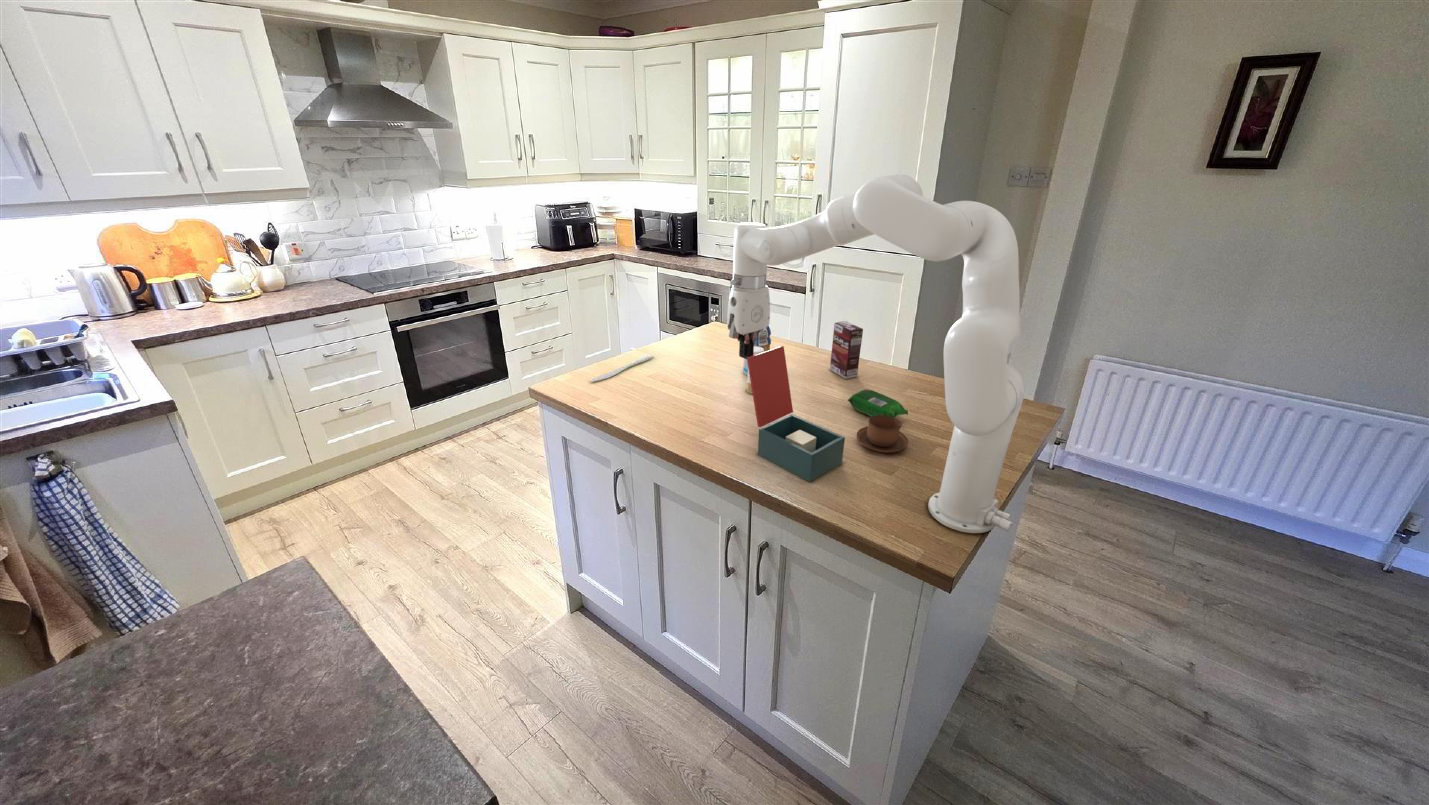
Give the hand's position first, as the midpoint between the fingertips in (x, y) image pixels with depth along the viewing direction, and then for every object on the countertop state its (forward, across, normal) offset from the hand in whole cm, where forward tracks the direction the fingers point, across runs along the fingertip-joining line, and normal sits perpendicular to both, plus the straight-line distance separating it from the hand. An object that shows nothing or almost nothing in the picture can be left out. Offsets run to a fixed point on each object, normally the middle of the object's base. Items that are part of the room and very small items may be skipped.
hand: (746, 357), depth 131 cm
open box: (+20, 0, -18) cm, 27 cm away
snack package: (+20, +33, -18) cm, 42 cm away
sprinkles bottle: (+20, +19, +14) cm, 31 cm away
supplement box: (+20, +50, +6) cm, 54 cm away
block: (+19, 0, -18) cm, 26 cm away
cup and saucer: (+20, +20, -28) cm, 39 cm away
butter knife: (+21, 0, +54) cm, 58 cm away
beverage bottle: (+20, +30, +24) cm, 44 cm away
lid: (+5, 0, -9) cm, 10 cm away
